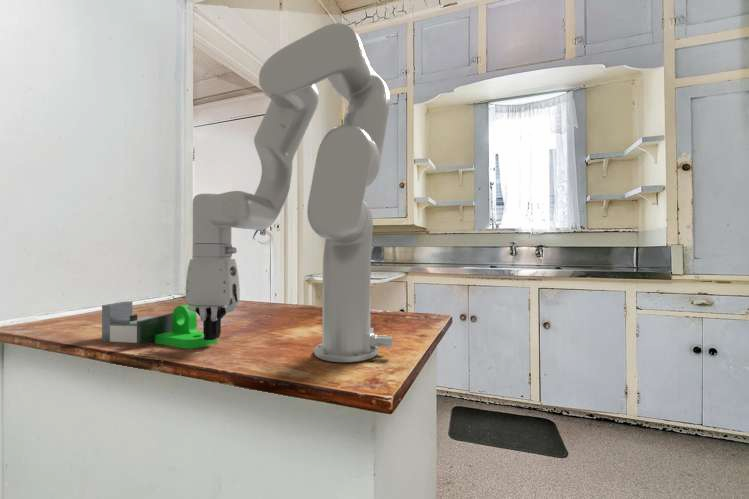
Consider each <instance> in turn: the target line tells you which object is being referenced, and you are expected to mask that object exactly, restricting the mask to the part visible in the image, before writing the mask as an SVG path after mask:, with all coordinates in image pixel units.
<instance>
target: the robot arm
mask: <svg viewBox="0 0 749 499" xmlns="http://www.w3.org/2000/svg"><path fill="white" fill-rule="evenodd" d="M258 73H259V75H258V83H259V87H260V89H261V90H262V91H263V93H264V94H265V95H266V96H267V97H268V98H269V99H270V102H269V104H268V107H267V109H266V110H265V113H264V115H263V118H262V120H261V121H260V122H261V123H260V124H259V126H258V128H257V131H256V132H255V135H254V139H253V144H254V147H255V150H256V152H257V154H258V157H259V160H260V165H261V176H260V179H259V183H258V186H257V189H256V190H255V192H254V194H252V193H249V192H245V191H241V190H231V191H226V192H222V193H198V194H196V195H195V196H194V197H193V200H192V240H191V241H192V246H191V247H192V252H191V253H192V254H191V255H192V258H190V259H189V263H188V267H187V271H186V279H185V282H186V283H185V301H186V305H188V307H187V309H188V310H190V311H193V312H196V315H198V316H199V317H200V320H201V322H202V323H203V325H202V326H203V327H202V328H203V330H202V331H203V334H204V340H214V339H216V338H217V339H219V338H220V337H221V332H222V330H221V329H222V320H223V319H224V316H226V314H227V313H232V312H235V311H237V310H238V306H237V304H238V303H239V302H240V296H241V294H240V293H241V289H240V278H239V277H240V276H239V270H238V267H237V266H238V265H237V262H236V261H237V260H236V259H235V258H232V257H233V254H236V253H237V252H238V251H237V250H238V249H237V248H236V247H234V246H233V244H232V228H236V229H244V230H255V231H262V230H266V229H268V228H270V227H271V226H272V225H273V224H274V223H275V222H276V220H277V218H279V215H280V213H281V211H282V210H283V207H284V205H285V202H286V200H287V198H288V196H289V191H290V190H291V189H290V188H291V182H292V176H293V175H292V174H293V162H294V158H295V156H296V153H297V151H298V148H299V146H300V144H301V142H302V139H303V138H304V135H305V134H306V131H307V129H308V128H309V126H310V123H311V121H312V119H313V117H314V114H315V112H316V110H317V108H318V106H319V100H320V97H319V96H320V95H319V91H318V88H317V86H316V84H318V83H320V82H322V81H325V80H326V79H327V80H328V82H329V83H330V84H331V87H332V88H334V90H335V91H336V92H337V93H338V94H339V95H340V96H342V97H343V98H344V99H345V100H346V101H347V102H348V105H347V107H346V110H345V113H344V117H343V124H340V125H337V126H335V127H333V128H332V129H330V130H329V131H328V132H327V133H326V134H325V135H324V137H323V139H322V140H321V142H320V144H319V147H318V151H317V152H316V159H315V164H314V168H313V175H312V179H311V186H310V191H309V196H308V200H307V220H308V223H309V225H310V227H311V229H312V231H314V233H315V234H316V235H317V236H319V237H321V238H322V239H324V240H325V241H324V248H323V253H322V254H323V256H322V318H321V319H322V320H321V321H322V328H321V329H322V334H321V335H322V336H321V337H322V342H321V343H318V344H317V345H316V346H315V347H314V353H313V354H314V356H315V357H316V358H317V359H320V360H322V361H327V362H332V363H356V362H357V363H358V362H362V361H367V360H370V359H372V358H375V357H376V356H377V355H378V354H379V353H378V352H379V347H383V348H393V342H394V340H393V336H388V334H377V333H375V332H374V331H375V330H374V327H371V275H372V274H371V273H372V272H371V271H372V269H371V268H372V242H373V230H374V228H373V227H374V224H373V215H372V212H371V209H370V207H369V206H368V204H367V202H366V201H364V198H365V194H366V188H367V187H369V186H371V184H372V183H373V182H374V181H375V180H376V178H377V176H378V175H379V172H380V171H379V170H380V167H381V160H382V158H381V157H382V154H383V149H384V143H385V137H386V131H387V130H386V129H387V125H388V119H389V114H390V106H391V96H390V91H389V88H388V86H387V84H386V82H385V81H384V80H383V79H382V77H380V75H379V74H378V73H376V71H375V70H374V69H373V68H372V66H371V65H370V61H369V60H368V57H367V55H366V52H365V49H364V46H363V43H362V41H361V38H360V36H359V35H358V33H357V32H356V31H355V30H354V29H353V28H352V27H350V26H349V25H347V24H344V23H337V22H335V23H329V24H326V25H324V26H321V27H320V28H317V29H315V30H314V31H312V32H309V33H308V34H307V35H305V36H302V37H300V38H299V39H297V40H295V41H293V42H291V43H289V44H288V45H286V46H284V47H282V48H280V49H279V50H277V51H276V52H275V53H274V54H272V55H271V56H270V57H268V58H267V59H266V61H265V62H264V63H263V64H262V67H261V68H260V71H259V72H258ZM221 319H222V320H221Z"/></svg>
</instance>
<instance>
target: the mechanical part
mask: <svg viewBox="0 0 749 499" xmlns="http://www.w3.org/2000/svg"><path fill="white" fill-rule="evenodd" d="M187 307H188V304H183V305H177V306H176V307H175V308H174V309H173V311H172V313H173V314H172V331H170V332H166V333H161V334H157V335H155V339H154V343H155V344H159V345H163V344H164V346H169V345H170V347H174V346H176V347H175V348H180V347H182V348H181V349H197V348H203V347H207V346H210V345H214V344H217V343H218V338H216V339H214V340H204V334H203V332H201V331H199V330H198V328H197V320H198V319H197V313H196V312H193V311H190V310H188V309H187Z"/></svg>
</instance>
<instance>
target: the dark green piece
mask: <svg viewBox="0 0 749 499" xmlns="http://www.w3.org/2000/svg"><path fill="white" fill-rule="evenodd" d="M172 314H173V312H170V313H165V314H162V315H157V316H149V315H145V316H140V317H138V314H132V316H130V325H137V343H136V344H137V345H142V344H145V343H148V342H151V341H155V335H157V334H161V333H166V332H170V331H172Z"/></svg>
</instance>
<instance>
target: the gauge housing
mask: <svg viewBox="0 0 749 499" xmlns="http://www.w3.org/2000/svg"><path fill="white" fill-rule="evenodd" d="M132 315H133V301H121V302H115V303H109V304H103V305H102V306H101V342H110V343H112V342H113V343H130V344H131V343H135V344H137V325H130V316H132Z"/></svg>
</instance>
